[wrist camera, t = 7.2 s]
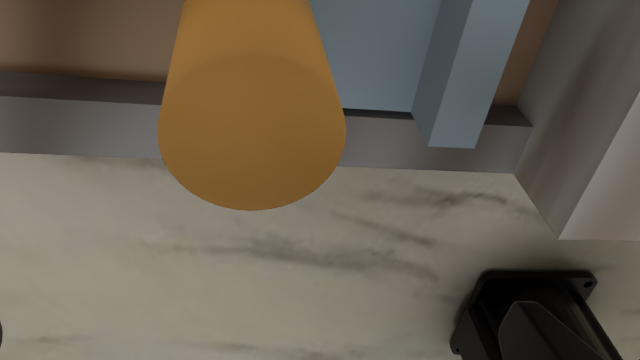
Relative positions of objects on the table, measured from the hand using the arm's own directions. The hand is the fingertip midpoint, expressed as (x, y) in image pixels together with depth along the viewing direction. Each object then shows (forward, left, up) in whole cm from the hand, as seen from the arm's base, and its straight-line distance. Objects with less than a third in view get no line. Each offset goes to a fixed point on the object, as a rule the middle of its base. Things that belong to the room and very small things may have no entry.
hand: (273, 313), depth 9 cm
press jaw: (-2, -3, -10) cm, 11 cm away
